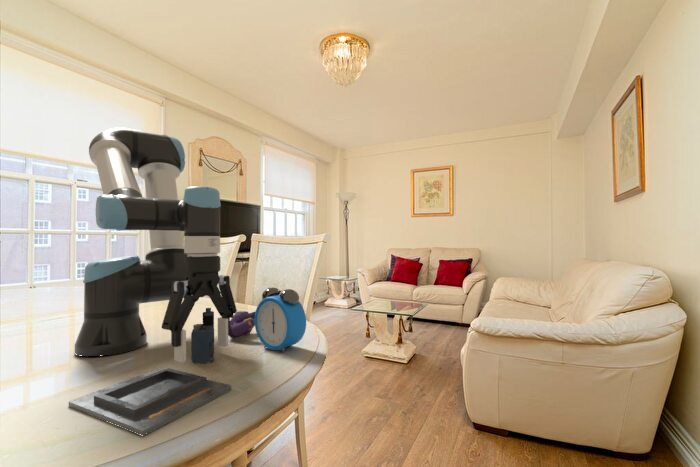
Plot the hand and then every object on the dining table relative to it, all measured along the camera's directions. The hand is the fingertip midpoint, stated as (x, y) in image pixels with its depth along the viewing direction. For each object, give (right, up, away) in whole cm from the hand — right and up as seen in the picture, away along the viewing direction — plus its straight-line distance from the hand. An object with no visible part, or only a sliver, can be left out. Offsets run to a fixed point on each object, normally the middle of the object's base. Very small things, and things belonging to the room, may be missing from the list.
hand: (203, 352), depth 75 cm
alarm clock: (+16, -2, +9) cm, 18 cm away
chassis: (-1, -2, -18) cm, 18 cm away
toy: (+3, -3, +21) cm, 21 cm away
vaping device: (0, -2, 0) cm, 2 cm away
